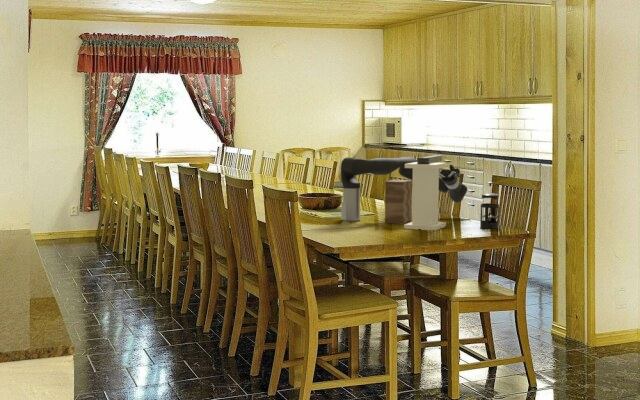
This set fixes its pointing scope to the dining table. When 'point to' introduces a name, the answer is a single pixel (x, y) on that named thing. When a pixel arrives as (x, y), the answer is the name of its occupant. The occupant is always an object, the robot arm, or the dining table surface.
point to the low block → (398, 201)
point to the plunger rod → (429, 159)
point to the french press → (493, 223)
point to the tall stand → (425, 196)
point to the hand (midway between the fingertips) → (442, 165)
